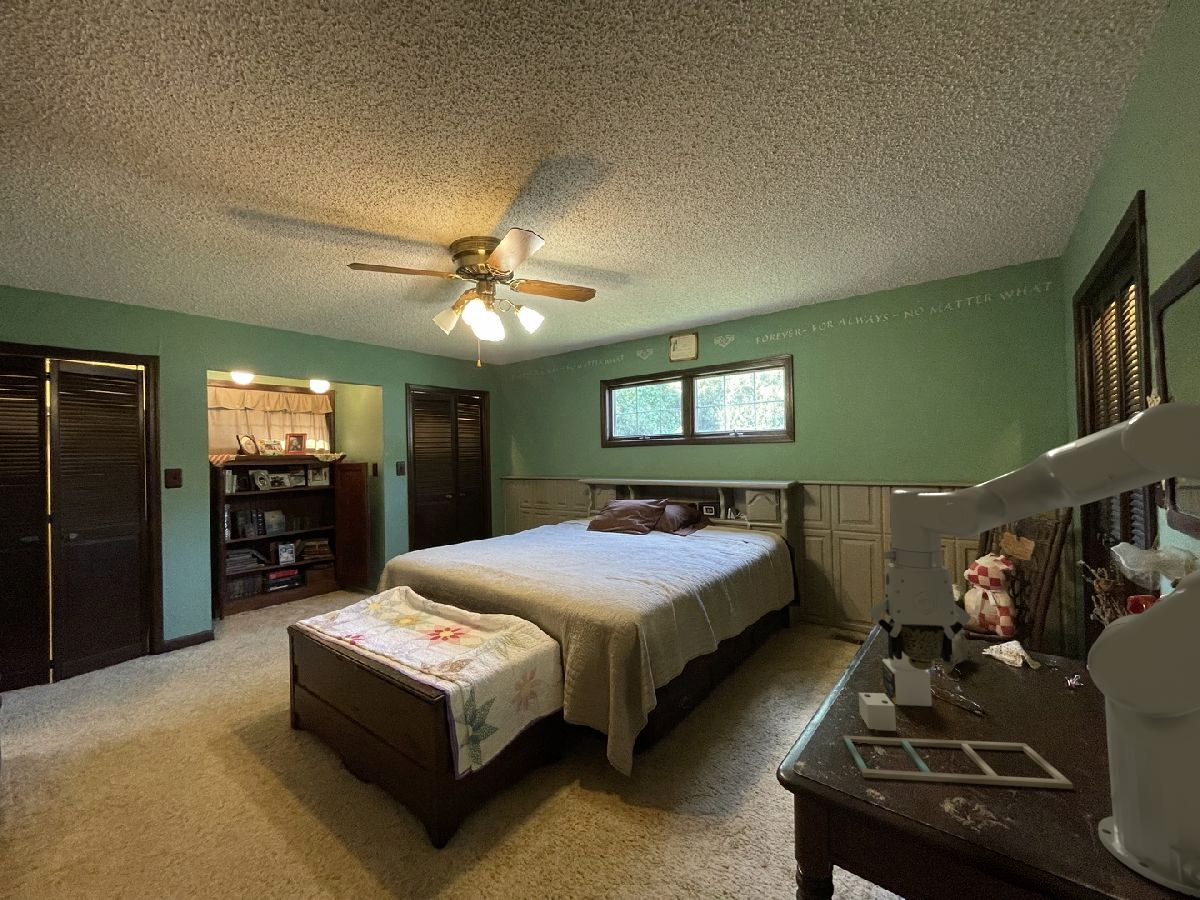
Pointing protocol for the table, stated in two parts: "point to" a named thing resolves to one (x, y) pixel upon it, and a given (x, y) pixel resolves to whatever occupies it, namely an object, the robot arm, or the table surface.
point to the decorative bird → (956, 652)
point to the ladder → (967, 746)
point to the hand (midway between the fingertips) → (920, 656)
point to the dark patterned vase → (922, 644)
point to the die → (877, 711)
